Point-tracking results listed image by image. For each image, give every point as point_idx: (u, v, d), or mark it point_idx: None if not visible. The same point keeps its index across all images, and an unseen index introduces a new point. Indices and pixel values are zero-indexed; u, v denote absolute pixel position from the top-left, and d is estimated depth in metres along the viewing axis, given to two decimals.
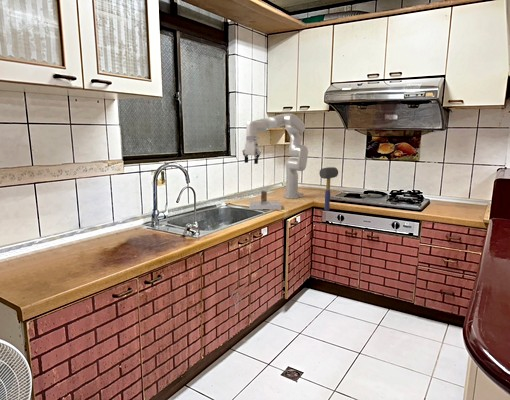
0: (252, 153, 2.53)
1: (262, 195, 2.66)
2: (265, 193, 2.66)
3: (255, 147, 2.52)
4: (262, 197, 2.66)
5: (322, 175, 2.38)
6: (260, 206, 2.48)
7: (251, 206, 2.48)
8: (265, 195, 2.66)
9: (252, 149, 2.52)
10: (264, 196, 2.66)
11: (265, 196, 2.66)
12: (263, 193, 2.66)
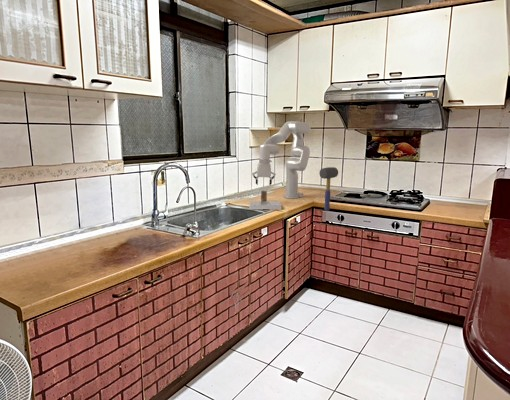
0: (268, 175, 2.63)
1: (262, 195, 2.66)
2: (265, 193, 2.66)
3: (270, 169, 2.63)
4: (262, 197, 2.66)
5: (322, 175, 2.38)
6: (260, 206, 2.48)
7: (251, 206, 2.48)
8: (265, 195, 2.66)
9: (268, 171, 2.62)
10: (264, 196, 2.66)
11: (265, 196, 2.66)
12: (263, 193, 2.65)
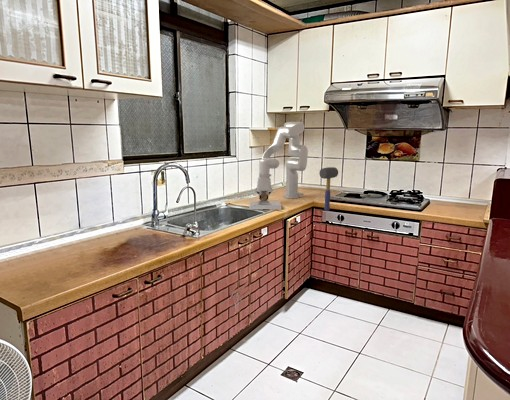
0: (268, 189, 2.65)
1: (262, 195, 2.66)
2: (265, 193, 2.66)
3: (270, 183, 2.65)
4: (262, 197, 2.66)
5: (322, 175, 2.38)
6: (260, 206, 2.48)
7: (251, 206, 2.48)
8: (265, 195, 2.66)
9: (268, 186, 2.64)
10: (264, 196, 2.66)
11: (265, 196, 2.66)
12: (263, 193, 2.65)
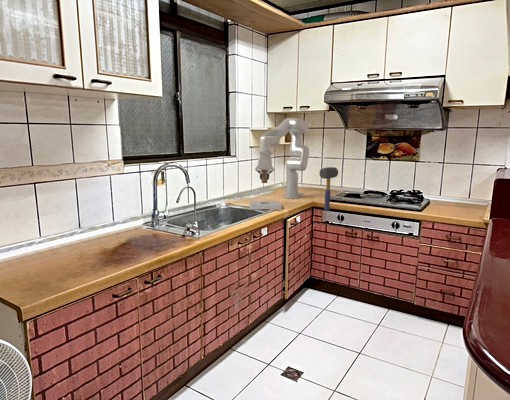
0: (269, 168, 2.55)
1: (262, 174, 2.56)
2: (266, 172, 2.55)
3: (271, 162, 2.55)
4: (263, 176, 2.56)
5: (322, 175, 2.38)
6: (260, 206, 2.48)
7: (251, 206, 2.48)
8: (266, 174, 2.56)
9: (269, 164, 2.54)
10: (265, 175, 2.56)
11: (266, 175, 2.56)
12: (264, 172, 2.55)
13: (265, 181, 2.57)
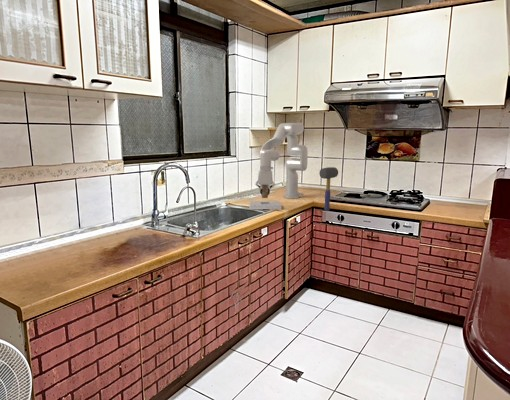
0: (269, 183, 2.50)
1: (263, 188, 2.50)
2: (266, 187, 2.50)
3: (272, 177, 2.50)
4: (263, 191, 2.51)
5: (322, 175, 2.38)
6: (260, 206, 2.48)
7: (251, 206, 2.48)
8: (266, 189, 2.50)
9: (270, 179, 2.49)
10: (265, 189, 2.51)
11: (266, 190, 2.51)
12: (264, 187, 2.50)
13: (266, 196, 2.51)
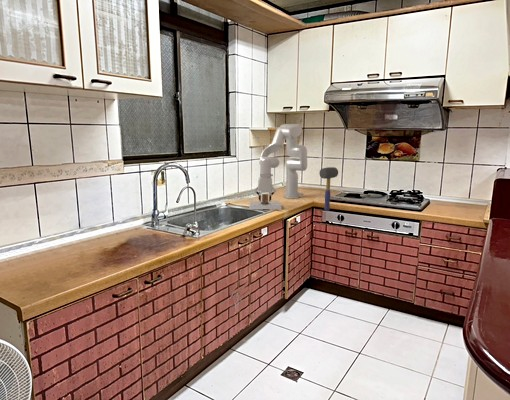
0: (269, 190, 2.51)
1: (263, 198, 2.52)
2: (266, 197, 2.52)
3: None
4: (263, 201, 2.52)
5: (322, 175, 2.38)
6: (260, 206, 2.48)
7: (251, 206, 2.48)
8: (266, 199, 2.52)
9: (270, 186, 2.50)
10: (266, 199, 2.52)
11: (266, 200, 2.52)
12: (264, 197, 2.52)
13: None
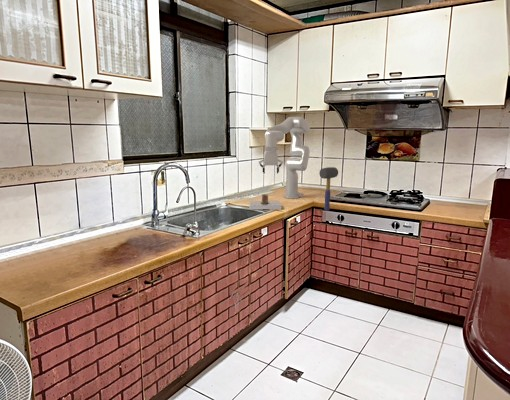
0: (275, 163, 2.55)
1: (263, 198, 2.52)
2: (266, 197, 2.52)
3: (277, 157, 2.55)
4: (263, 201, 2.52)
5: (322, 175, 2.38)
6: (260, 206, 2.48)
7: (251, 206, 2.48)
8: (266, 199, 2.52)
9: (275, 159, 2.54)
10: (265, 199, 2.52)
11: (266, 200, 2.52)
12: (264, 197, 2.52)
13: None
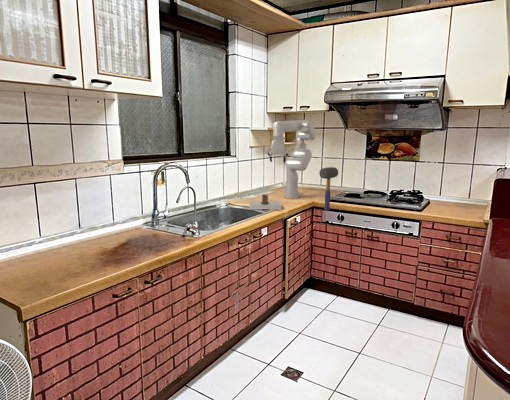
0: (282, 152, 2.64)
1: (263, 198, 2.52)
2: (266, 197, 2.52)
3: (284, 146, 2.64)
4: (263, 201, 2.52)
5: (322, 175, 2.38)
6: (260, 206, 2.48)
7: (251, 206, 2.48)
8: (266, 199, 2.52)
9: (282, 148, 2.63)
10: (265, 199, 2.52)
11: (266, 200, 2.52)
12: (264, 197, 2.52)
13: None
